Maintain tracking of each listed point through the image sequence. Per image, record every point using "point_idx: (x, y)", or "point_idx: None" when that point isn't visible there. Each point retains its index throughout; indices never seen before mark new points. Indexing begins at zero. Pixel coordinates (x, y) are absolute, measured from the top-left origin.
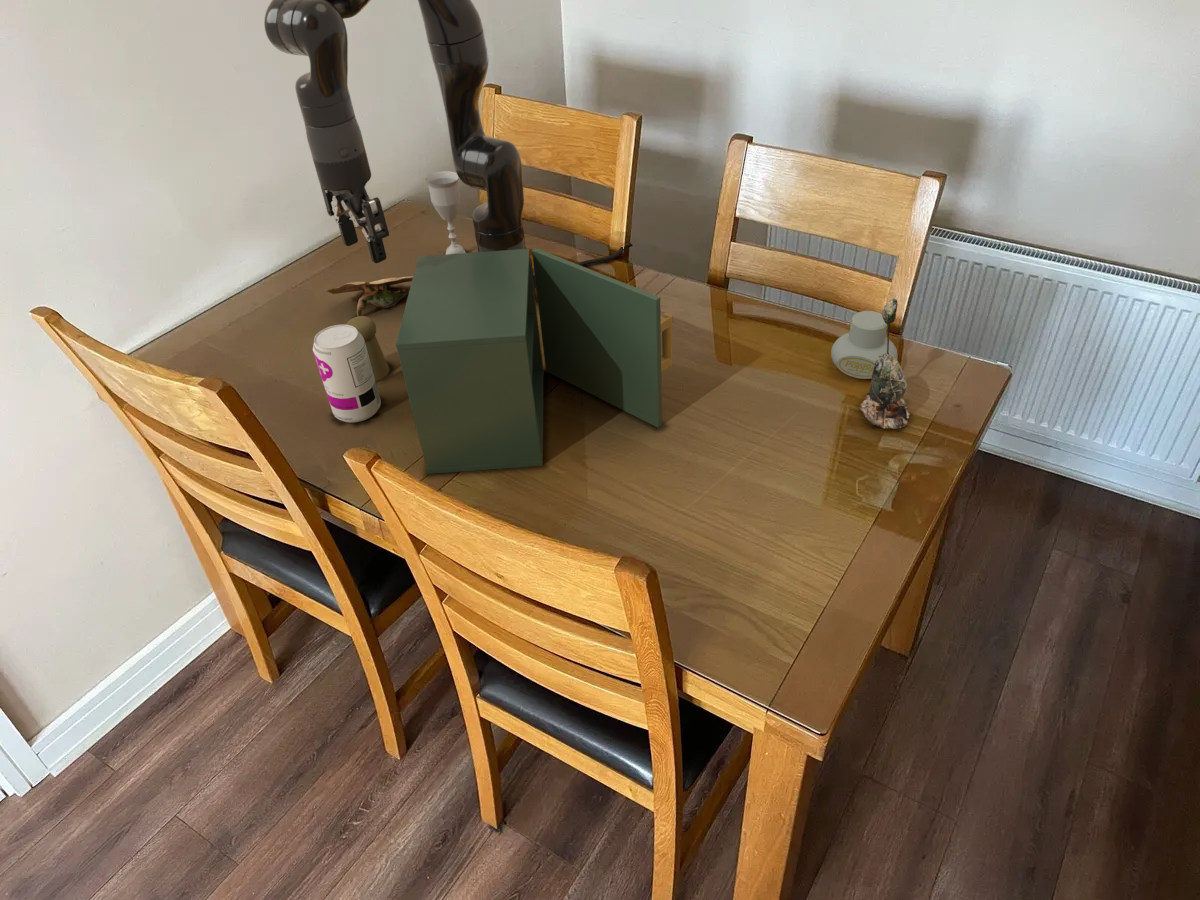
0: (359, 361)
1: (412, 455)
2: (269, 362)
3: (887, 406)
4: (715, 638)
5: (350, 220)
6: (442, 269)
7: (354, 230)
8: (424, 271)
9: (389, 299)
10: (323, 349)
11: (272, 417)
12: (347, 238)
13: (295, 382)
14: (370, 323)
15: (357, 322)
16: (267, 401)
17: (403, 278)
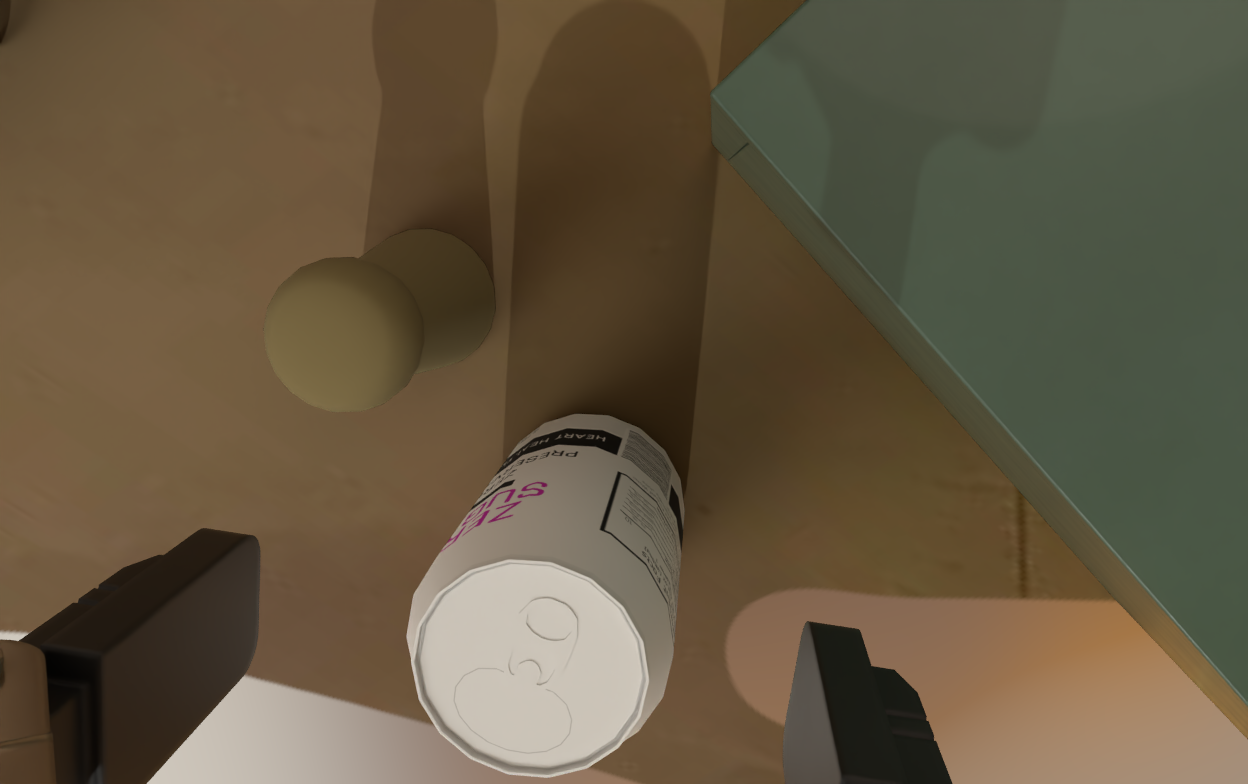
0: (673, 604)
1: (985, 558)
2: (44, 497)
3: None
4: None
5: (75, 670)
6: (1149, 136)
7: (185, 601)
8: (1010, 273)
9: None
10: (568, 767)
11: (375, 694)
12: (215, 674)
13: (244, 521)
14: (385, 311)
15: (338, 361)
16: (274, 649)
17: None
